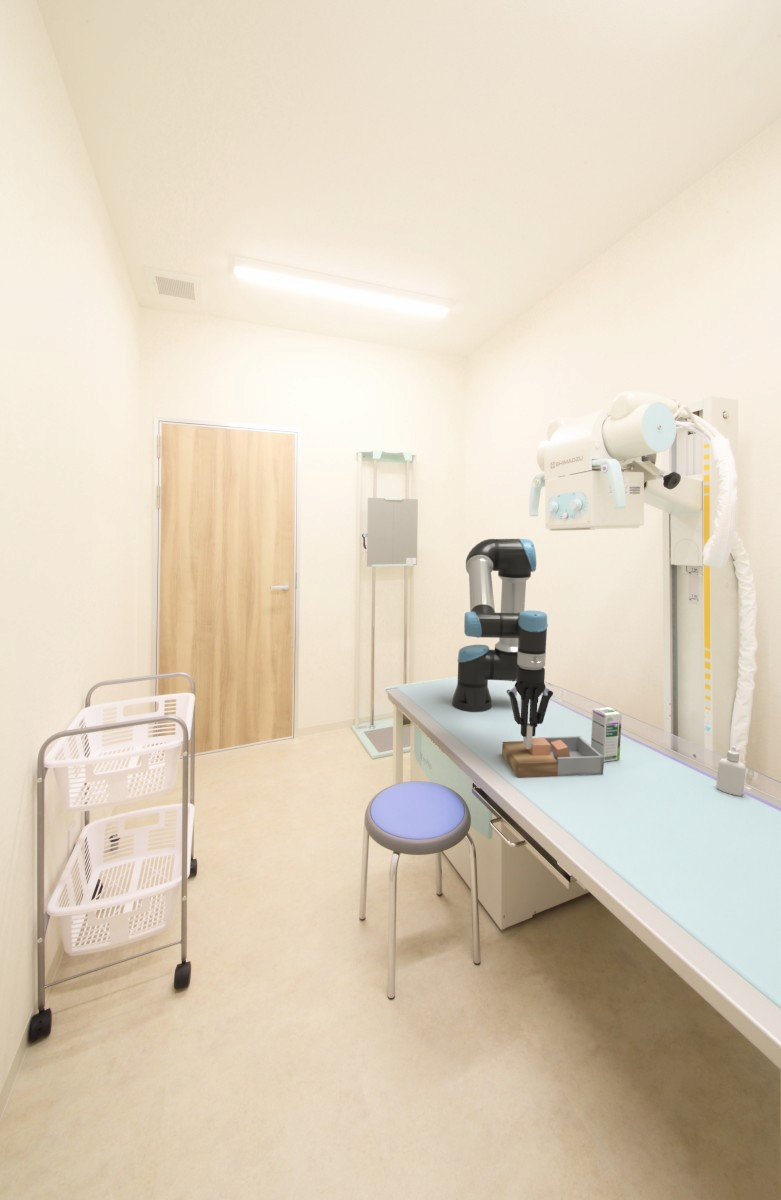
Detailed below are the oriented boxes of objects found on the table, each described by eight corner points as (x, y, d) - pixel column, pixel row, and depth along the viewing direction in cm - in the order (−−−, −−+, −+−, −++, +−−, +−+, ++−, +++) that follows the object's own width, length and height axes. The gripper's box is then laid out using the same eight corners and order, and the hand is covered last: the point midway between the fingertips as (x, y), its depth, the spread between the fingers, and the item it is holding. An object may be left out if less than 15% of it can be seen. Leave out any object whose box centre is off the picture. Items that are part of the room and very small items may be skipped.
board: (502, 754, 142) (502, 741, 142) (537, 753, 143) (538, 740, 142) (518, 777, 128) (519, 763, 128) (557, 776, 129) (558, 762, 129)
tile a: (526, 747, 138) (526, 737, 137) (543, 747, 138) (543, 737, 138) (532, 755, 133) (533, 745, 132) (550, 755, 133) (550, 744, 133)
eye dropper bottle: (725, 784, 125) (729, 741, 124) (746, 795, 120) (751, 750, 118) (712, 786, 124) (717, 743, 122) (733, 798, 119) (738, 752, 117)
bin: (537, 753, 143) (538, 737, 142) (578, 751, 144) (579, 736, 143) (557, 776, 129) (558, 758, 129) (603, 774, 130) (604, 757, 130)
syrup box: (603, 762, 137) (606, 714, 135) (589, 753, 143) (592, 707, 141) (619, 760, 139) (623, 712, 137) (605, 751, 144) (608, 706, 142)
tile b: (550, 742, 138) (560, 739, 138) (553, 757, 139) (563, 755, 139) (557, 749, 133) (568, 747, 133) (561, 766, 134) (571, 763, 134)
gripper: (512, 670, 128) (509, 753, 131) (559, 669, 129) (554, 752, 132) (503, 663, 135) (501, 741, 138) (548, 662, 136) (544, 740, 139)
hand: (527, 746), depth 135 cm, fingers closed
